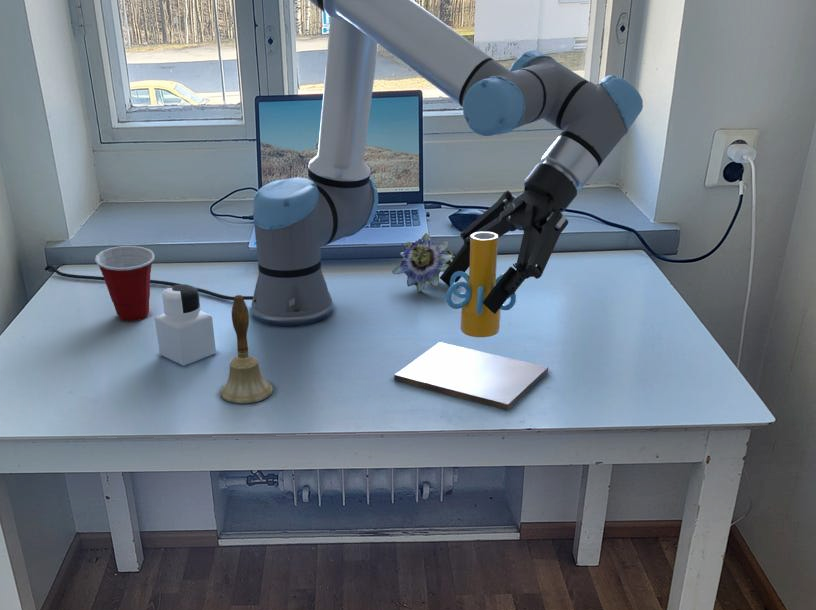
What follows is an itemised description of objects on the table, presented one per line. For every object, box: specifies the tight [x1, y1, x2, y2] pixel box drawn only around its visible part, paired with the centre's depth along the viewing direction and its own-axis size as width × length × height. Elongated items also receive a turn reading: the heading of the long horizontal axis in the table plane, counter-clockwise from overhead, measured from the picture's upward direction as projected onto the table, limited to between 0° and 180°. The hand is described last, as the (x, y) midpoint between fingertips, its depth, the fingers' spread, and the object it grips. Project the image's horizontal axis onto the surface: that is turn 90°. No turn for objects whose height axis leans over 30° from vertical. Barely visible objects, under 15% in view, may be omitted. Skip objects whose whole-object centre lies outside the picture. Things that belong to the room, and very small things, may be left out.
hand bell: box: [220, 294, 274, 405], centre depth 142 cm, size 8×8×16 cm
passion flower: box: [392, 232, 455, 293], centre depth 182 cm, size 11×11×12 cm
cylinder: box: [445, 232, 517, 338], centre depth 139 cm, size 12×10×15 cm
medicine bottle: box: [154, 284, 217, 367], centre depth 156 cm, size 7×7×12 cm
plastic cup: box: [94, 245, 155, 322], centre depth 171 cm, size 11×11×12 cm
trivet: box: [393, 341, 549, 411], centre depth 148 cm, size 20×15×1 cm
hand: (466, 295), depth 139 cm, fingers closed on cylinder, 11 cm apart
